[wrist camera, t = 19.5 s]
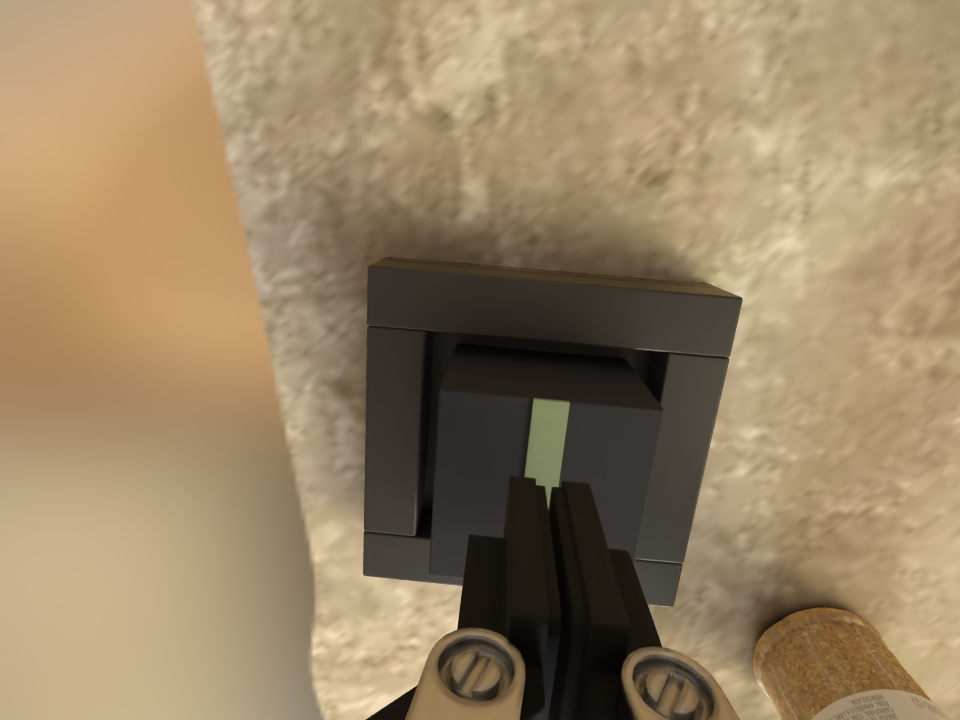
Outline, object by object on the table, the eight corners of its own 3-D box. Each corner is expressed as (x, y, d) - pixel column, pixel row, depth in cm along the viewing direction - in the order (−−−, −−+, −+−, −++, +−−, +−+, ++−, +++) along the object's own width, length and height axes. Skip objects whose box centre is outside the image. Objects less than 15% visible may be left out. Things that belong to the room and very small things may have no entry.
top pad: (457, 343, 16) (438, 390, 12) (626, 357, 15) (666, 411, 11) (446, 491, 17) (427, 578, 13) (601, 506, 17) (629, 599, 13)
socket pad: (387, 256, 16) (367, 265, 13) (710, 284, 15) (744, 297, 13) (380, 532, 18) (362, 576, 16) (653, 559, 18) (673, 608, 16)
